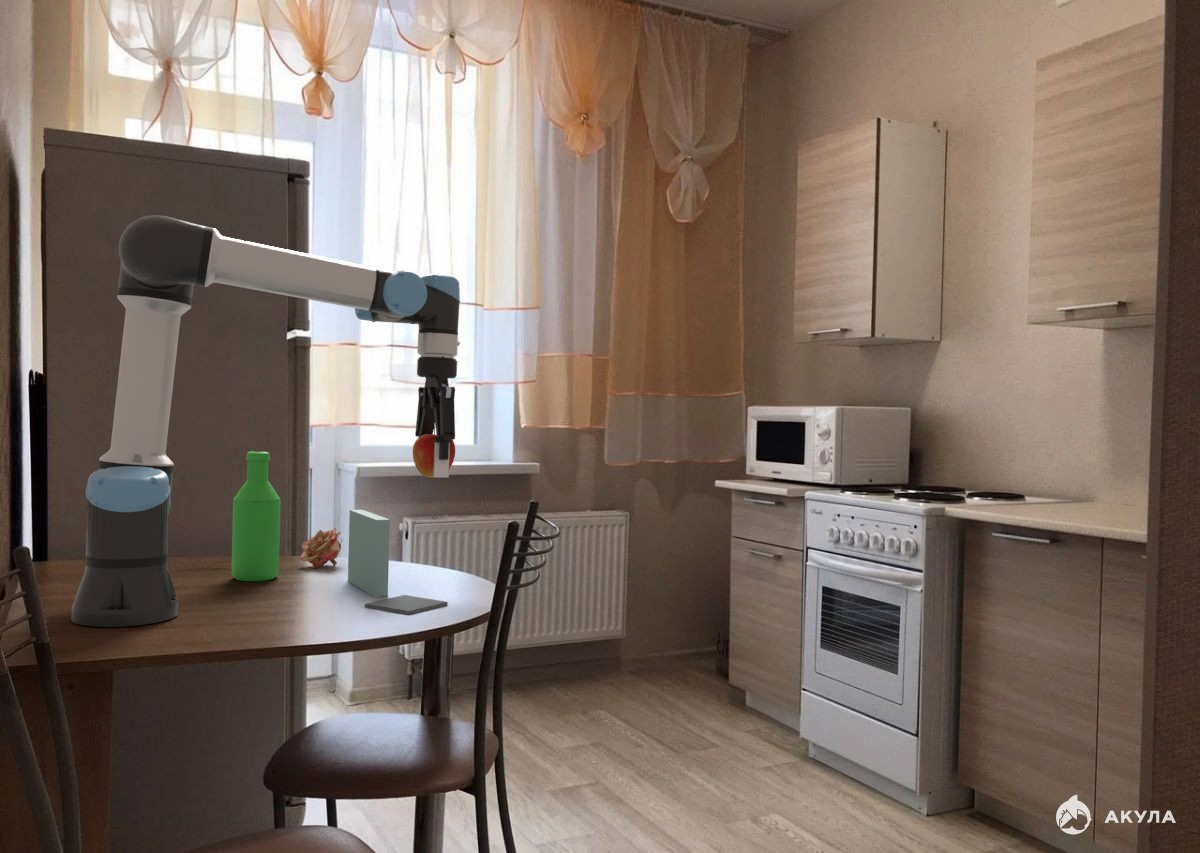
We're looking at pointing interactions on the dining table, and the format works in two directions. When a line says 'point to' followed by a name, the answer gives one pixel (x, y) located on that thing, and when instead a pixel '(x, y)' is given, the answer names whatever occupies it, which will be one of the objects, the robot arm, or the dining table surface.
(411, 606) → the coaster
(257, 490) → the bottle
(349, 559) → the grey-green flat block
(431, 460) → the apple
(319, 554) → the flower
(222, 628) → the dining table surface
